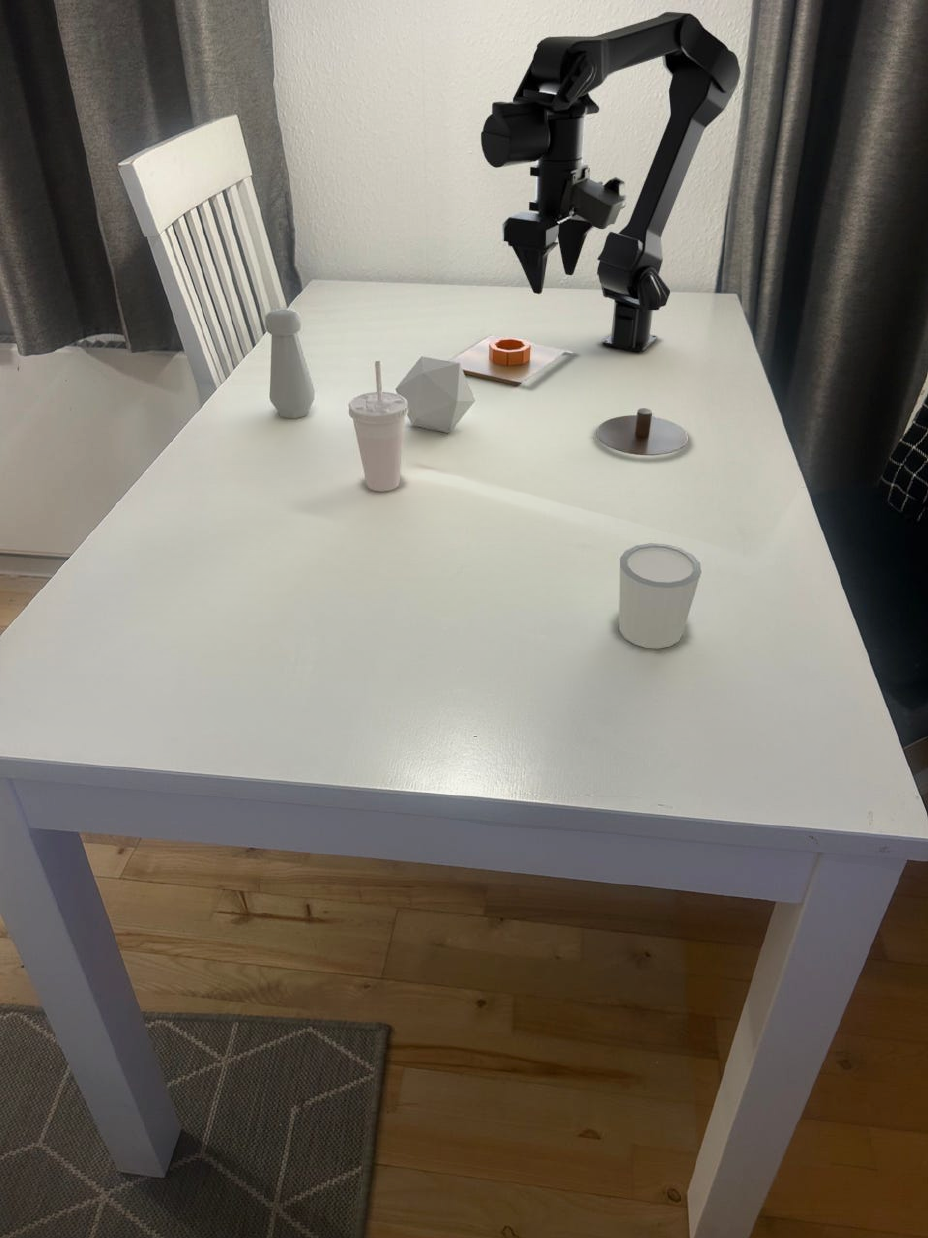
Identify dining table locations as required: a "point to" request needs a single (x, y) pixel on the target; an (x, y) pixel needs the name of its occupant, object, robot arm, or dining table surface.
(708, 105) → the robot arm
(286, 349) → the salt shaker
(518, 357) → the ring
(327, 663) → the dining table surface
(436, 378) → the die
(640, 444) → the ring post
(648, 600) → the shot glass
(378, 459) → the smoothie
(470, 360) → the trivet
